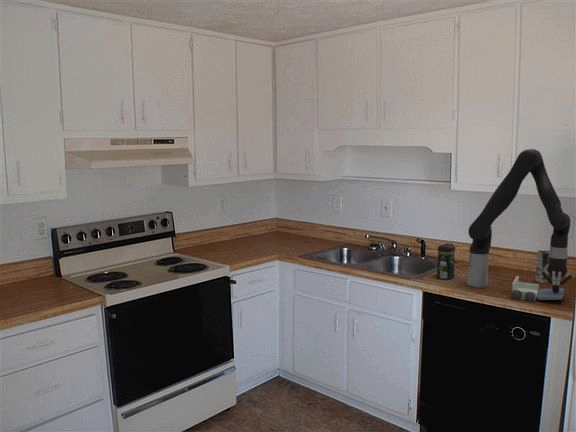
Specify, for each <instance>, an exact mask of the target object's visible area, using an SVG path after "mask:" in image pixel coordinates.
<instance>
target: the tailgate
mask: <svg viewBox="0 0 576 432" xmlns="http://www.w3.org/2000/svg"><path fill="white" fill-rule="evenodd" d="M564 293H565V289H564V288H563V287H559V292H557V293H554V291H552V288H539V292H538V295H537V298H536V299H537V300H538V301H553V300H555V301H556V300H558V301H561V300H563V298H564V297H563V296H564Z"/></svg>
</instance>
